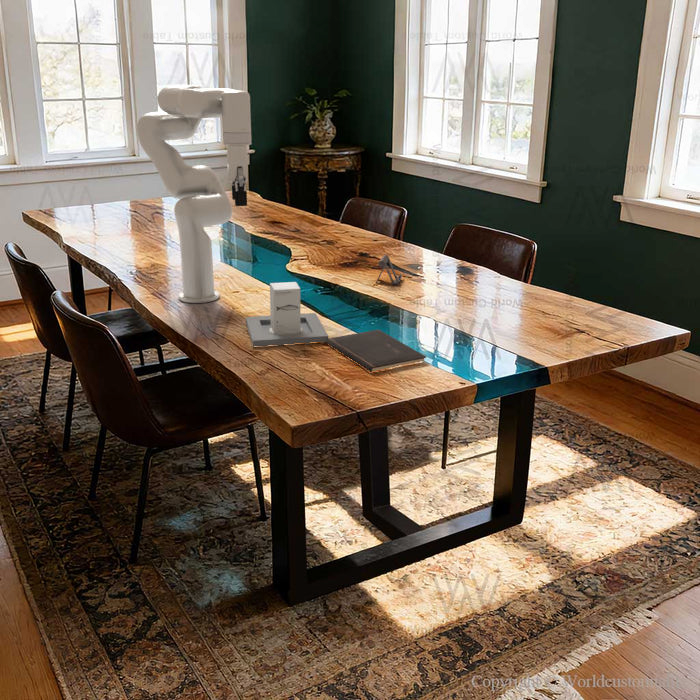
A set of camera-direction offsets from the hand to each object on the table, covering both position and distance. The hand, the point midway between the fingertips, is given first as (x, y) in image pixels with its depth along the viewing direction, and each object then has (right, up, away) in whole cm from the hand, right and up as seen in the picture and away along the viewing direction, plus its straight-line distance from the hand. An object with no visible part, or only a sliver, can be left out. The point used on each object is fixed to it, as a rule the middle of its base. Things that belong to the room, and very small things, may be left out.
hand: (239, 202), depth 219 cm
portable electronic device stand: (+43, -18, +49) cm, 68 cm away
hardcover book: (+37, -42, -15) cm, 58 cm away
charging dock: (+13, -36, -1) cm, 38 cm away
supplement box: (+13, -35, -1) cm, 38 cm away
